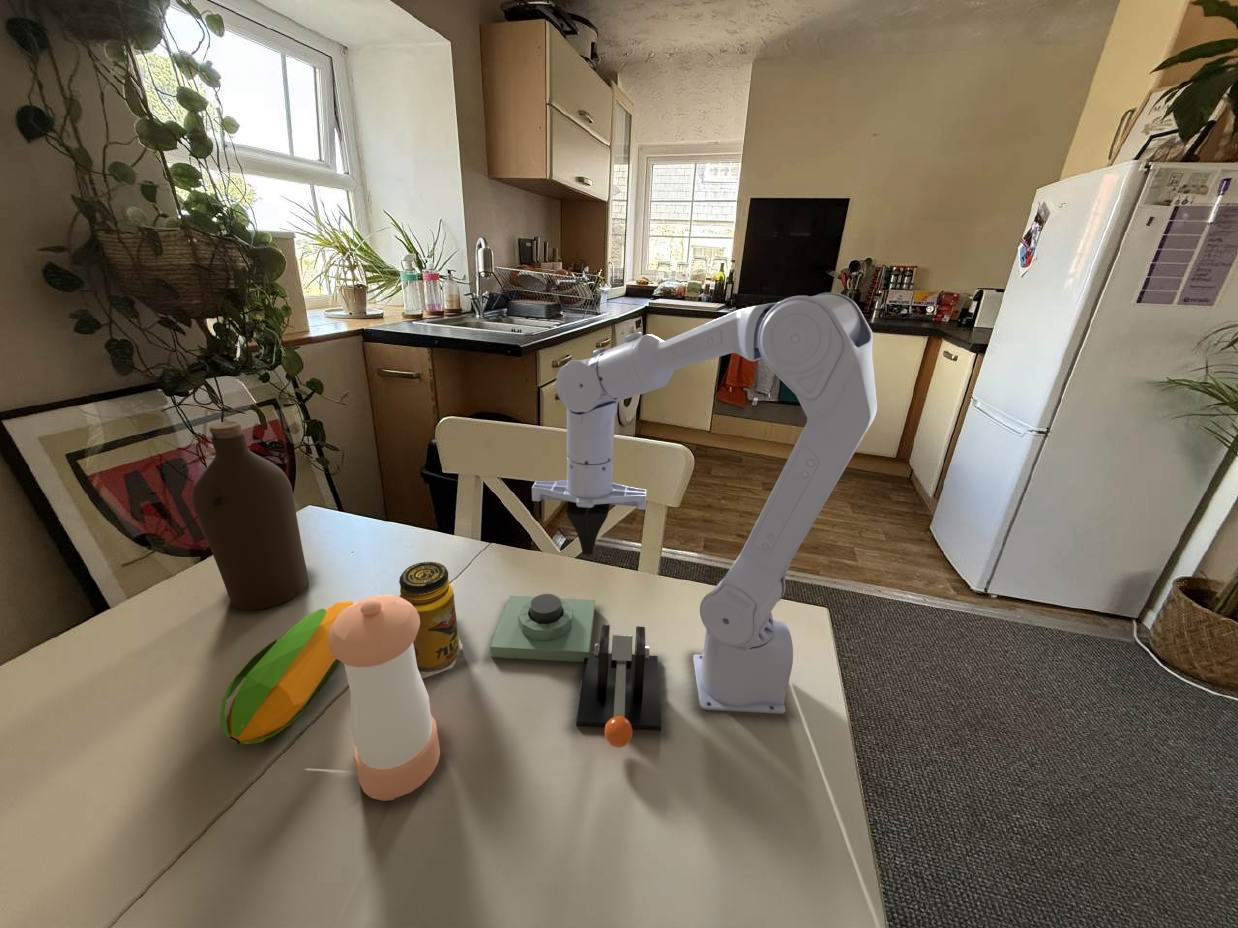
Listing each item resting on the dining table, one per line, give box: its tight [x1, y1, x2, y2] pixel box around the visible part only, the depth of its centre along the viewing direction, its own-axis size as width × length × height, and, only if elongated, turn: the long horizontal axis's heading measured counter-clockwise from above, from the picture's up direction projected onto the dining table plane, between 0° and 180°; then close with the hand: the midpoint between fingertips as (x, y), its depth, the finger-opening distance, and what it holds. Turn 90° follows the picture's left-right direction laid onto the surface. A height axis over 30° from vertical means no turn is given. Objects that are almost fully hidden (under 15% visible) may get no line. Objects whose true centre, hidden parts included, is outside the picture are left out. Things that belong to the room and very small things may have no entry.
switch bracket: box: [575, 624, 662, 732], centre depth 56 cm, size 10×9×8 cm
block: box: [489, 595, 596, 663], centre depth 65 cm, size 12×10×4 cm
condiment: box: [398, 561, 464, 680], centre depth 59 cm, size 7×8×12 cm
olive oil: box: [191, 421, 309, 611], centre depth 67 cm, size 11×11×25 cm
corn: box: [219, 600, 354, 745], centre depth 55 cm, size 7×8×20 cm
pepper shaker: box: [328, 594, 441, 802], centre depth 44 cm, size 7×7×19 cm
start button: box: [530, 593, 562, 624], centre depth 64 cm, size 4×4×2 cm
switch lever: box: [603, 634, 633, 749], centre depth 52 cm, size 11×3×3 cm, turn 179°
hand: (588, 550), depth 66 cm, fingers closed
